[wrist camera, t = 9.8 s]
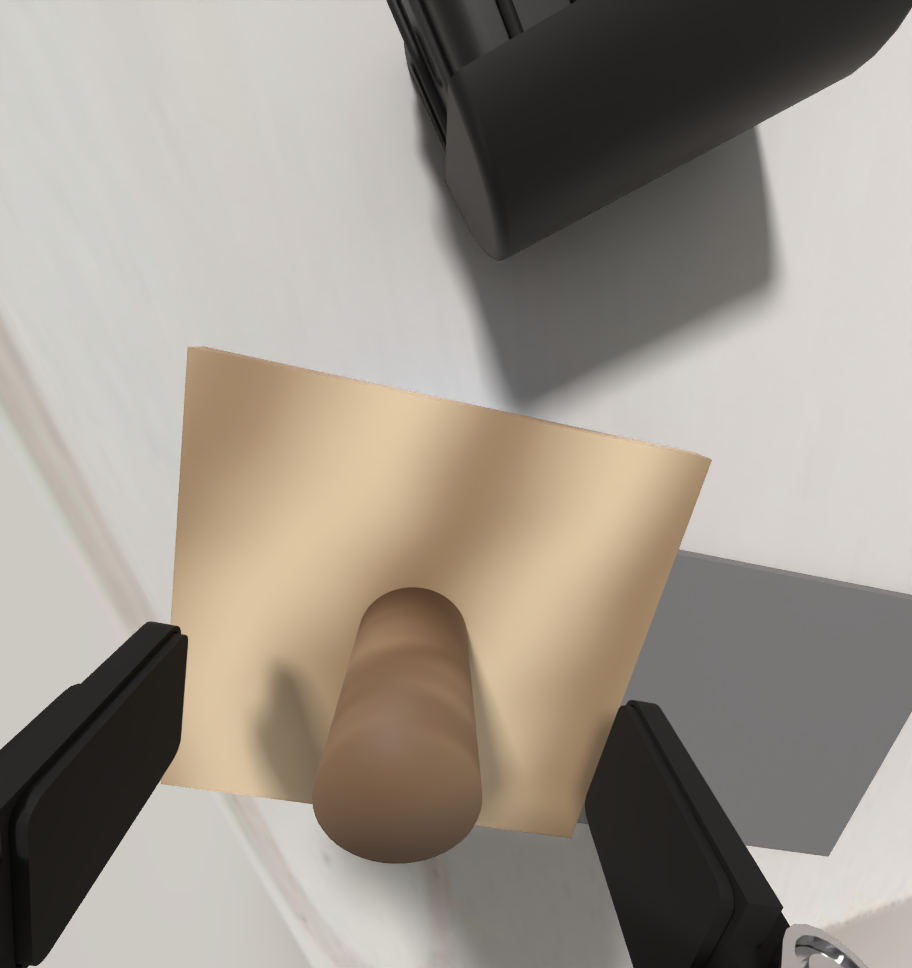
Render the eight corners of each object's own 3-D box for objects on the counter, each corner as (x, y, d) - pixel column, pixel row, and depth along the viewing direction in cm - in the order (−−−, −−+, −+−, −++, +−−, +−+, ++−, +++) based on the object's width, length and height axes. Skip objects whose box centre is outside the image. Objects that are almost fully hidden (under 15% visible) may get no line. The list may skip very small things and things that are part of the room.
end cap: (485, 281, 16) (515, 237, 10) (384, 55, 14) (339, -188, 8) (763, 133, 15) (1005, -27, 9) (695, -130, 13) (936, -581, 7)
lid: (695, 453, 13) (892, 534, 7) (564, 815, 16) (630, 1058, 11) (204, 347, 12) (-12, 346, 6) (175, 761, 15) (20, 1005, 9)
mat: (954, 603, 20) (969, 610, 20) (819, 844, 24) (828, 856, 23) (648, 543, 19) (655, 549, 18) (555, 807, 23) (558, 819, 22)
